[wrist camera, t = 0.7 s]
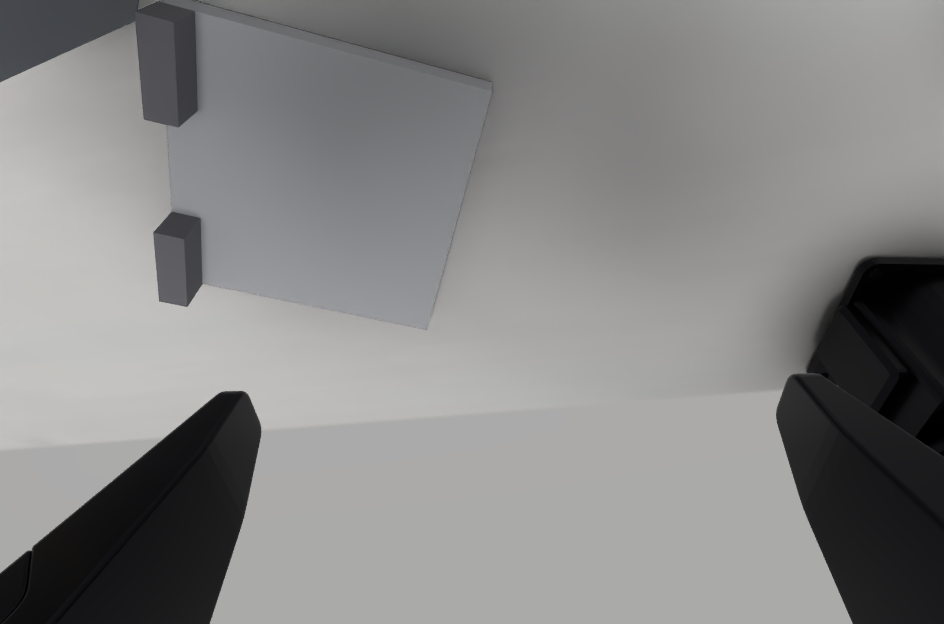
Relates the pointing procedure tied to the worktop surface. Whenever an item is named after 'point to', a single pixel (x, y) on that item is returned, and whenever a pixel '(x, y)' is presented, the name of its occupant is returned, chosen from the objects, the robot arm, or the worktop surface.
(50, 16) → the grey block
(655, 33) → the worktop surface
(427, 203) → the pad
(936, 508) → the robot arm
